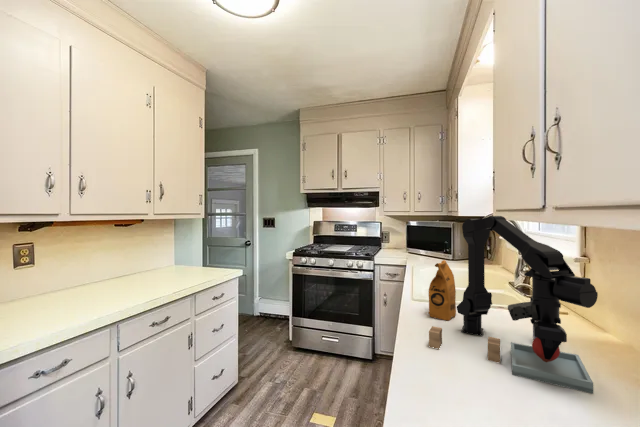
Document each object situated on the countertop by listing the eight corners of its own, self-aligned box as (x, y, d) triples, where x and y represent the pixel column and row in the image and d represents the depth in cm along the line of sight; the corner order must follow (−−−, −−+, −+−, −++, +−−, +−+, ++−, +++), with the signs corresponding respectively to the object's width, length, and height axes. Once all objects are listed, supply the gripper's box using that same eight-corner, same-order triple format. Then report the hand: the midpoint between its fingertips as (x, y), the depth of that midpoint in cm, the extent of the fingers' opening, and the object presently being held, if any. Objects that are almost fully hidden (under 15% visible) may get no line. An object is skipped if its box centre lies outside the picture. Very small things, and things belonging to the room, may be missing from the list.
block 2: (488, 353, 87) (488, 336, 87) (500, 355, 86) (500, 338, 86) (487, 360, 83) (487, 342, 83) (500, 363, 82) (500, 345, 82)
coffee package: (424, 316, 118) (423, 262, 118) (435, 308, 128) (434, 258, 128) (450, 322, 112) (449, 265, 112) (459, 313, 121) (458, 260, 121)
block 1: (432, 341, 96) (432, 326, 96) (442, 343, 94) (442, 327, 94) (429, 347, 92) (428, 331, 92) (439, 349, 90) (439, 333, 90)
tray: (510, 350, 89) (510, 342, 89) (578, 363, 80) (578, 354, 80) (512, 374, 76) (512, 364, 76) (593, 393, 67) (593, 382, 67)
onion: (550, 357, 81) (549, 328, 81) (565, 368, 75) (565, 336, 75) (527, 356, 81) (527, 327, 81) (541, 367, 76) (541, 336, 76)
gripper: (508, 284, 90) (509, 335, 90) (510, 300, 74) (510, 361, 74) (554, 289, 84) (555, 343, 84) (566, 307, 69) (567, 374, 69)
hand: (545, 354), depth 78 cm, fingers closed on onion, 6 cm apart
